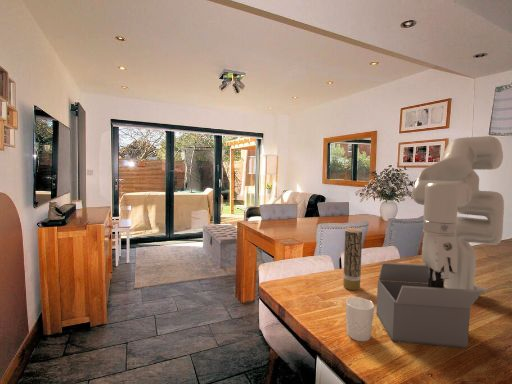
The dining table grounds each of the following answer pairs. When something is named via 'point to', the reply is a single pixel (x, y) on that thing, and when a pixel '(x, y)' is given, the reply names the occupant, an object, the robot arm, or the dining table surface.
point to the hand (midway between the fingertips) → (435, 293)
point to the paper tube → (352, 258)
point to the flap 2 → (437, 296)
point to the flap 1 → (404, 272)
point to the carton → (420, 319)
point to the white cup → (359, 318)
